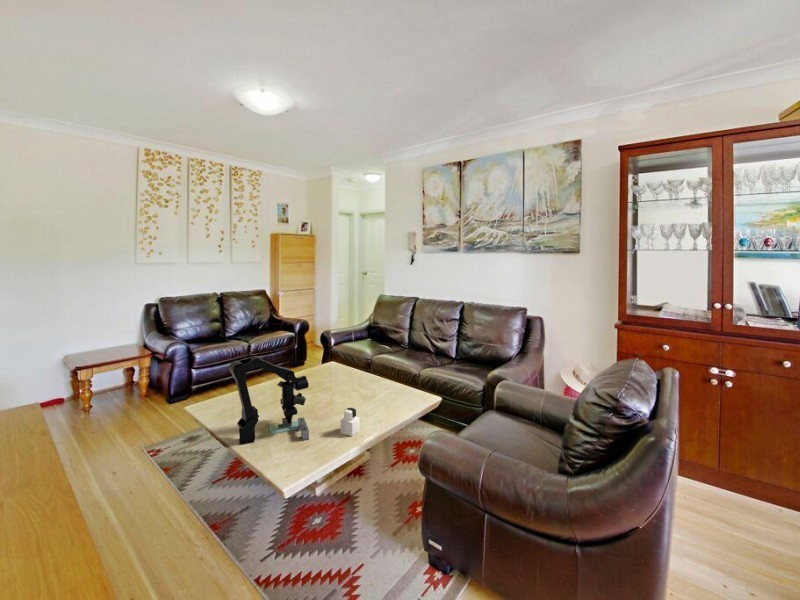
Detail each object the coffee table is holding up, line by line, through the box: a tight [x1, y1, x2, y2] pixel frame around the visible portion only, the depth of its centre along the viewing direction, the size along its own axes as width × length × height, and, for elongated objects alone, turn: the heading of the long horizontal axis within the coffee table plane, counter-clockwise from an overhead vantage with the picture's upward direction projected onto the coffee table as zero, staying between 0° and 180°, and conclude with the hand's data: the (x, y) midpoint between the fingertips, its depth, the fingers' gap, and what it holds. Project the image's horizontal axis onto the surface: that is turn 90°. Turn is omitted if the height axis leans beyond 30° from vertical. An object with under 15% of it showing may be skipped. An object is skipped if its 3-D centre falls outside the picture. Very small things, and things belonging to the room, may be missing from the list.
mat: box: [268, 420, 299, 435], centre depth 189 cm, size 14×9×1 cm, turn 114°
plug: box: [274, 417, 294, 430], centre depth 188 cm, size 9×4×4 cm, turn 114°
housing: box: [297, 417, 310, 441], centre depth 182 cm, size 3×15×5 cm, turn 24°
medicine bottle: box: [340, 407, 361, 437], centre depth 184 cm, size 7×7×12 cm
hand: (289, 421), depth 189 cm, fingers closed on plug, 4 cm apart
